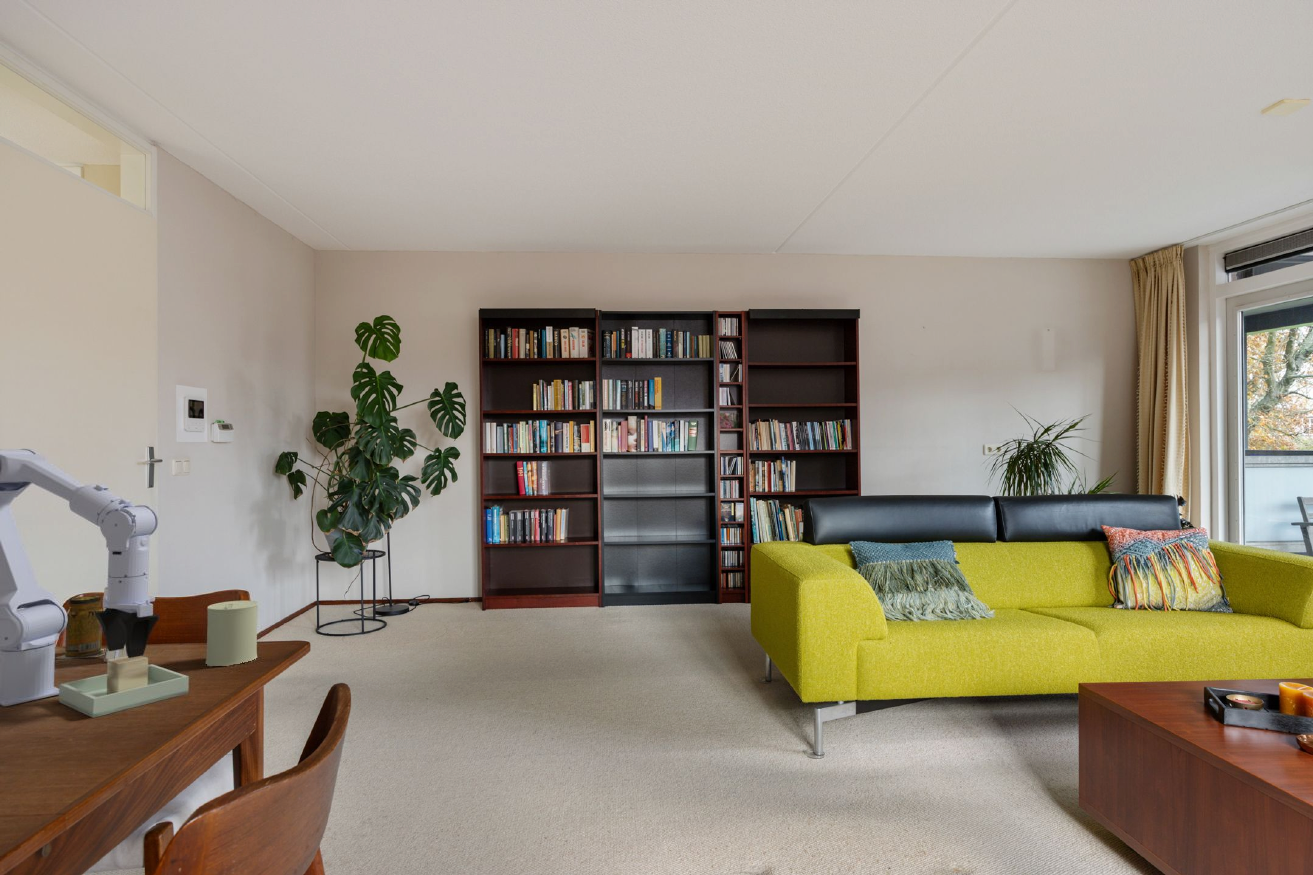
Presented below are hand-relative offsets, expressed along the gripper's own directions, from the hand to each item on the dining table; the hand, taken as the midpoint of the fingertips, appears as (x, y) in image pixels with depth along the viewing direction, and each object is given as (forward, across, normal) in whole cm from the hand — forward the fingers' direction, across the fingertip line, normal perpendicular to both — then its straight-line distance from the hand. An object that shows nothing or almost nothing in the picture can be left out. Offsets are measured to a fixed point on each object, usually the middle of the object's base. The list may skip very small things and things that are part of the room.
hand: (125, 653), depth 123 cm
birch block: (+7, 0, 0) cm, 7 cm away
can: (+8, +8, -22) cm, 25 cm away
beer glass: (+8, +29, -10) cm, 32 cm away
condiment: (+8, +39, -8) cm, 41 cm away
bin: (+8, 0, 0) cm, 8 cm away
